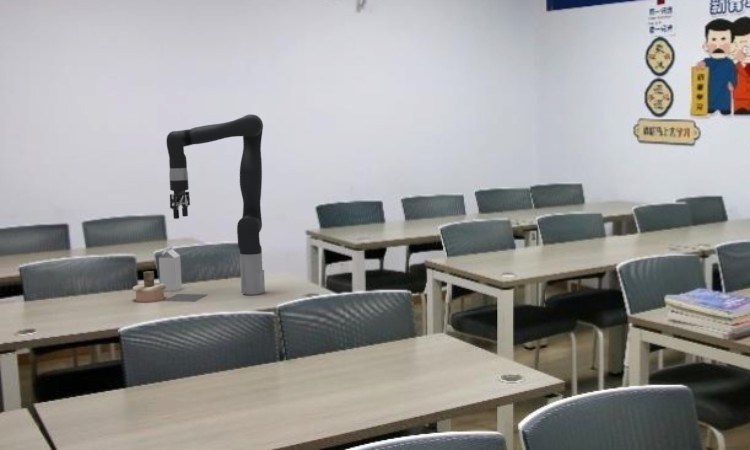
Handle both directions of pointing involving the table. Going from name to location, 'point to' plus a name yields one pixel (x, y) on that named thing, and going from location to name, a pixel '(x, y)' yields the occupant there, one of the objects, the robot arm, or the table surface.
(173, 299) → the mat
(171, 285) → the milk carton
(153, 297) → the bowl
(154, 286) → the lid
